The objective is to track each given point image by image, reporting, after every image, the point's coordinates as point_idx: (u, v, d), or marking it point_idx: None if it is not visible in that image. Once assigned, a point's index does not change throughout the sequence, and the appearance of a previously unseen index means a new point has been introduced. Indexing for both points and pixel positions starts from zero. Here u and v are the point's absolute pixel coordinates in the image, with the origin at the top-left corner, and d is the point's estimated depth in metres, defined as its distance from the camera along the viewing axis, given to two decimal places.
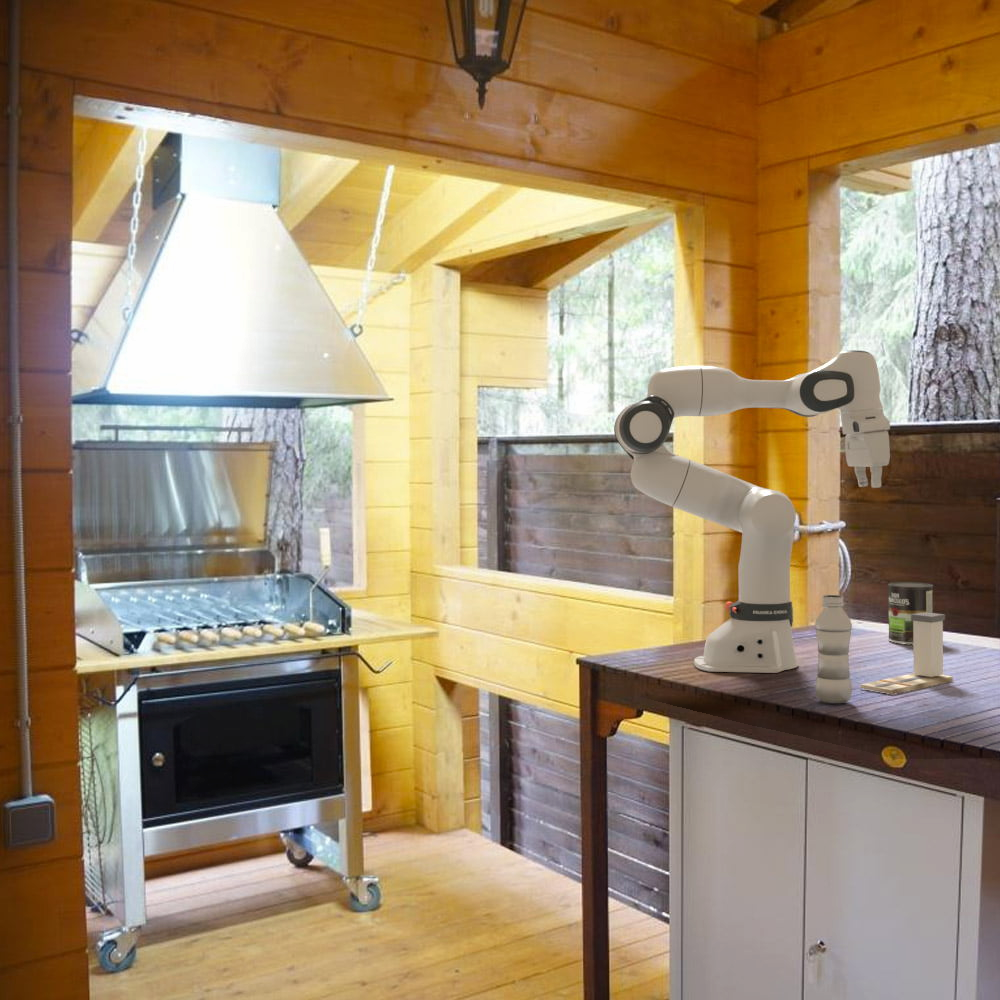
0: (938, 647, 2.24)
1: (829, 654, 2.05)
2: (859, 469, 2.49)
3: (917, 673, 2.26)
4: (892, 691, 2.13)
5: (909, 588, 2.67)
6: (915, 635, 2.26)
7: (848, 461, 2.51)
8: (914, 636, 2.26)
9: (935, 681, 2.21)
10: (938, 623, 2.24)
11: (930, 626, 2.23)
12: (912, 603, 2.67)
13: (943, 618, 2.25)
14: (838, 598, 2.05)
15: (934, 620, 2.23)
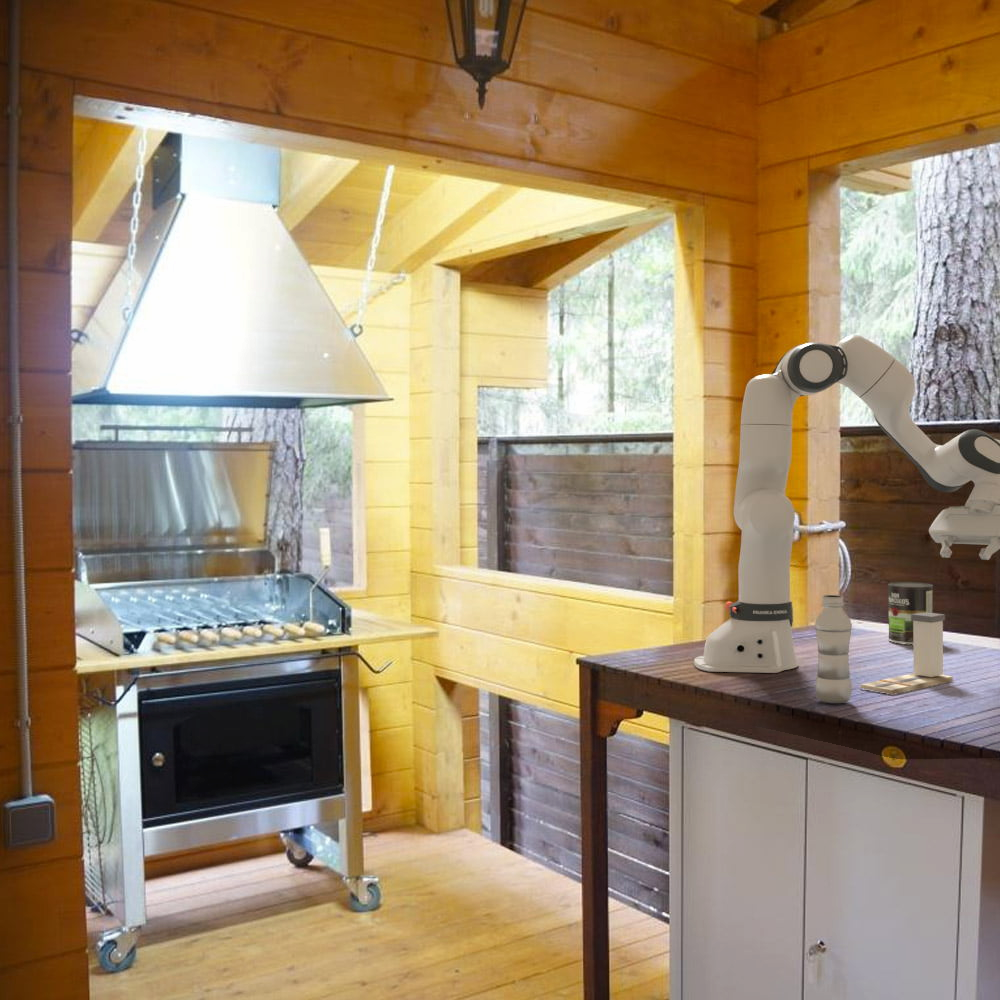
0: (938, 647, 2.24)
1: (829, 654, 2.05)
2: (948, 540, 2.37)
3: (917, 673, 2.26)
4: (892, 691, 2.13)
5: (909, 588, 2.67)
6: (915, 635, 2.26)
7: (937, 528, 2.40)
8: (914, 636, 2.26)
9: (935, 681, 2.21)
10: (938, 623, 2.24)
11: (930, 626, 2.23)
12: (912, 603, 2.67)
13: (943, 618, 2.25)
14: (838, 598, 2.05)
15: (934, 620, 2.23)
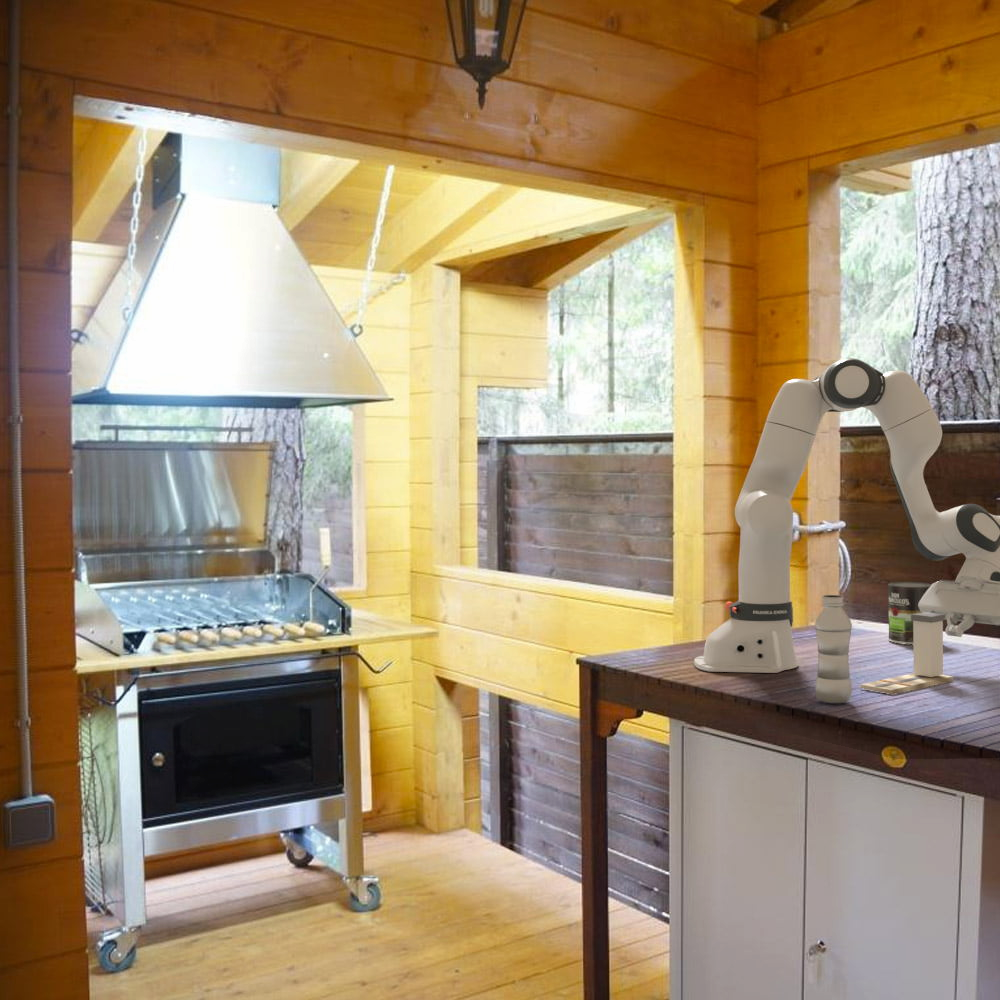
0: (938, 647, 2.24)
1: (829, 654, 2.05)
2: (954, 618, 2.33)
3: (917, 673, 2.26)
4: (892, 691, 2.13)
5: (909, 588, 2.67)
6: (915, 635, 2.26)
7: (926, 603, 2.38)
8: (914, 636, 2.26)
9: (935, 681, 2.21)
10: (938, 623, 2.24)
11: (930, 626, 2.23)
12: (912, 603, 2.67)
13: (943, 618, 2.25)
14: (838, 598, 2.05)
15: (934, 620, 2.23)
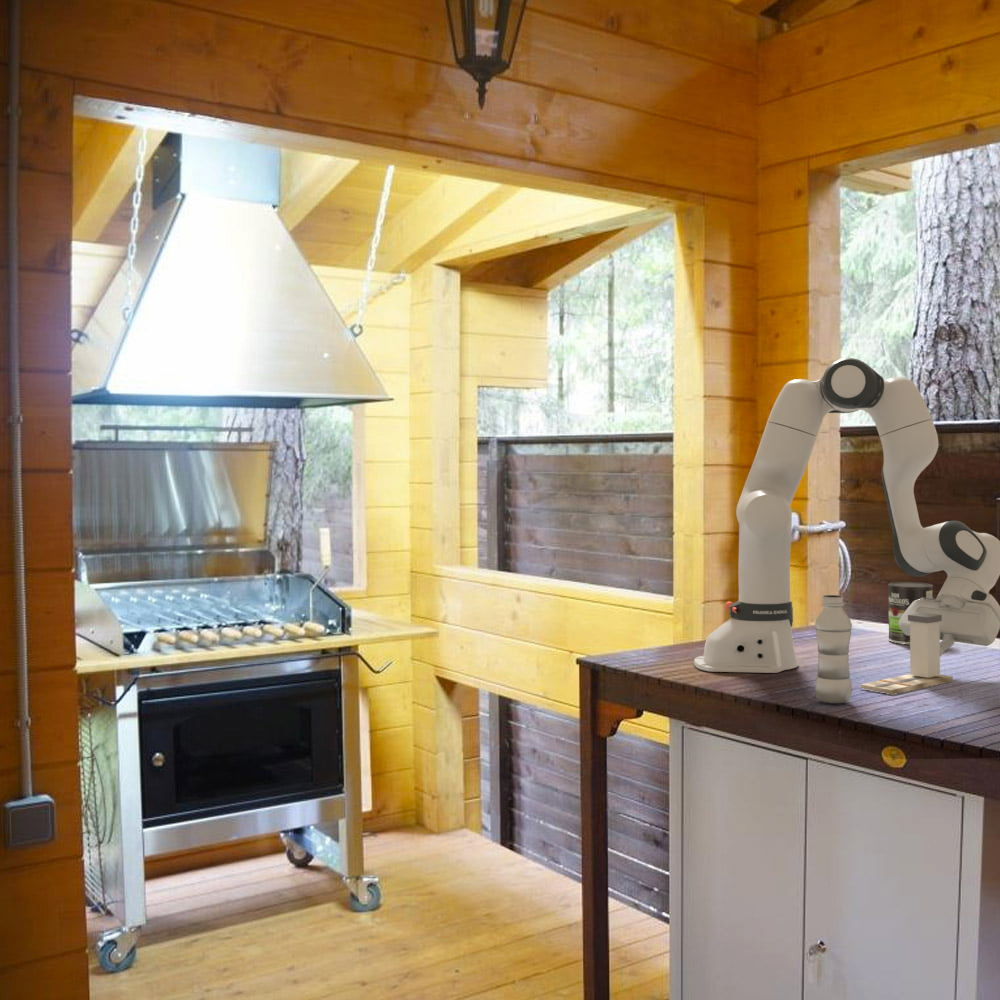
0: (935, 648, 2.24)
1: (829, 654, 2.05)
2: None
3: (914, 674, 2.25)
4: (892, 691, 2.13)
5: (909, 588, 2.67)
6: (912, 636, 2.25)
7: (906, 621, 2.34)
8: (911, 637, 2.25)
9: (935, 681, 2.21)
10: (935, 624, 2.23)
11: (927, 627, 2.22)
12: None
13: (940, 619, 2.24)
14: (838, 598, 2.05)
15: (931, 621, 2.22)
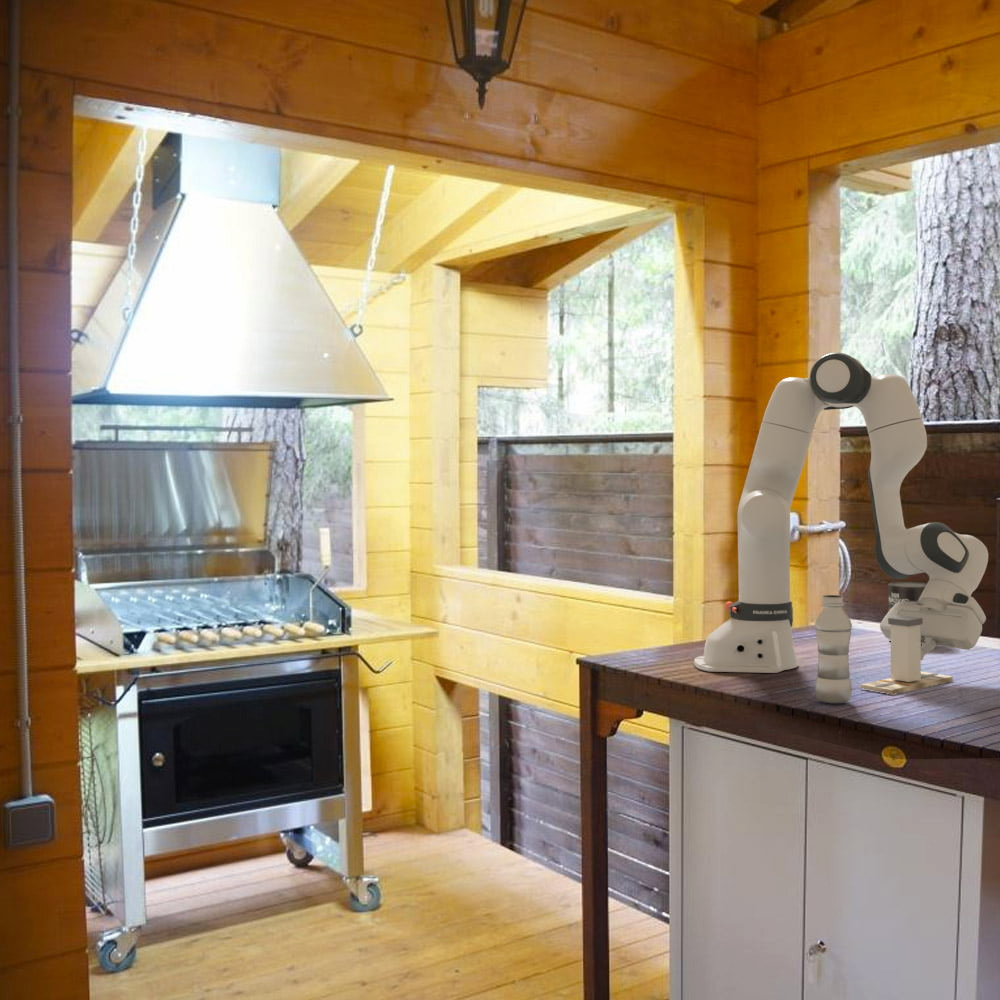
0: (916, 651, 2.20)
1: (829, 654, 2.05)
2: None
3: (894, 678, 2.21)
4: (892, 691, 2.13)
5: (909, 588, 2.67)
6: (892, 639, 2.21)
7: (888, 624, 2.31)
8: (892, 640, 2.21)
9: (935, 681, 2.21)
10: (916, 627, 2.20)
11: (907, 630, 2.18)
12: None
13: (921, 622, 2.20)
14: (838, 598, 2.05)
15: (911, 624, 2.19)
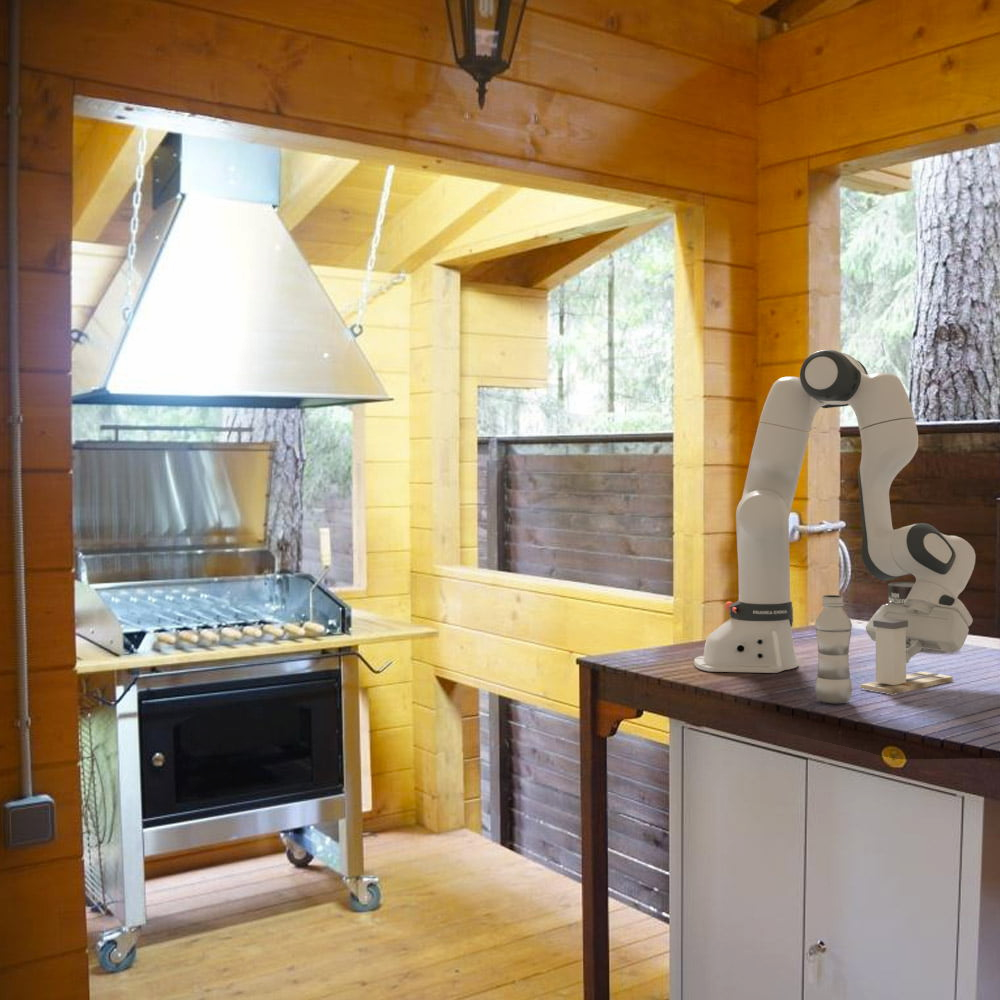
0: (901, 654, 2.17)
1: (829, 654, 2.05)
2: None
3: (879, 681, 2.19)
4: (892, 691, 2.13)
5: (909, 588, 2.67)
6: (878, 642, 2.19)
7: None
8: (877, 643, 2.19)
9: (935, 681, 2.21)
10: (901, 629, 2.17)
11: (892, 633, 2.16)
12: None
13: (906, 624, 2.17)
14: (838, 598, 2.05)
15: (896, 626, 2.16)
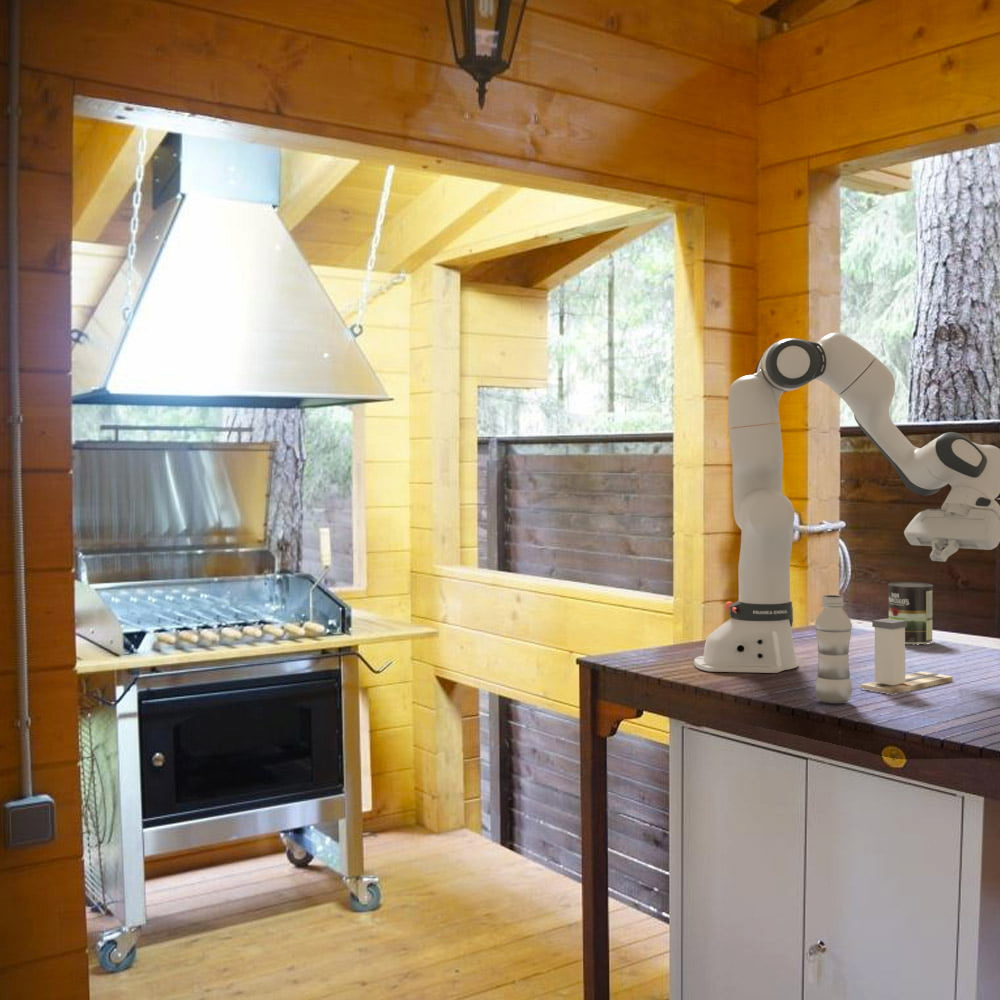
0: (900, 654, 2.17)
1: (829, 654, 2.05)
2: (939, 544, 2.33)
3: (878, 681, 2.18)
4: (892, 691, 2.13)
5: (909, 588, 2.67)
6: (877, 642, 2.18)
7: (912, 530, 2.39)
8: (876, 643, 2.19)
9: (935, 681, 2.21)
10: (900, 630, 2.17)
11: (892, 633, 2.15)
12: (912, 603, 2.67)
13: (905, 624, 2.17)
14: (838, 598, 2.05)
15: (896, 627, 2.16)
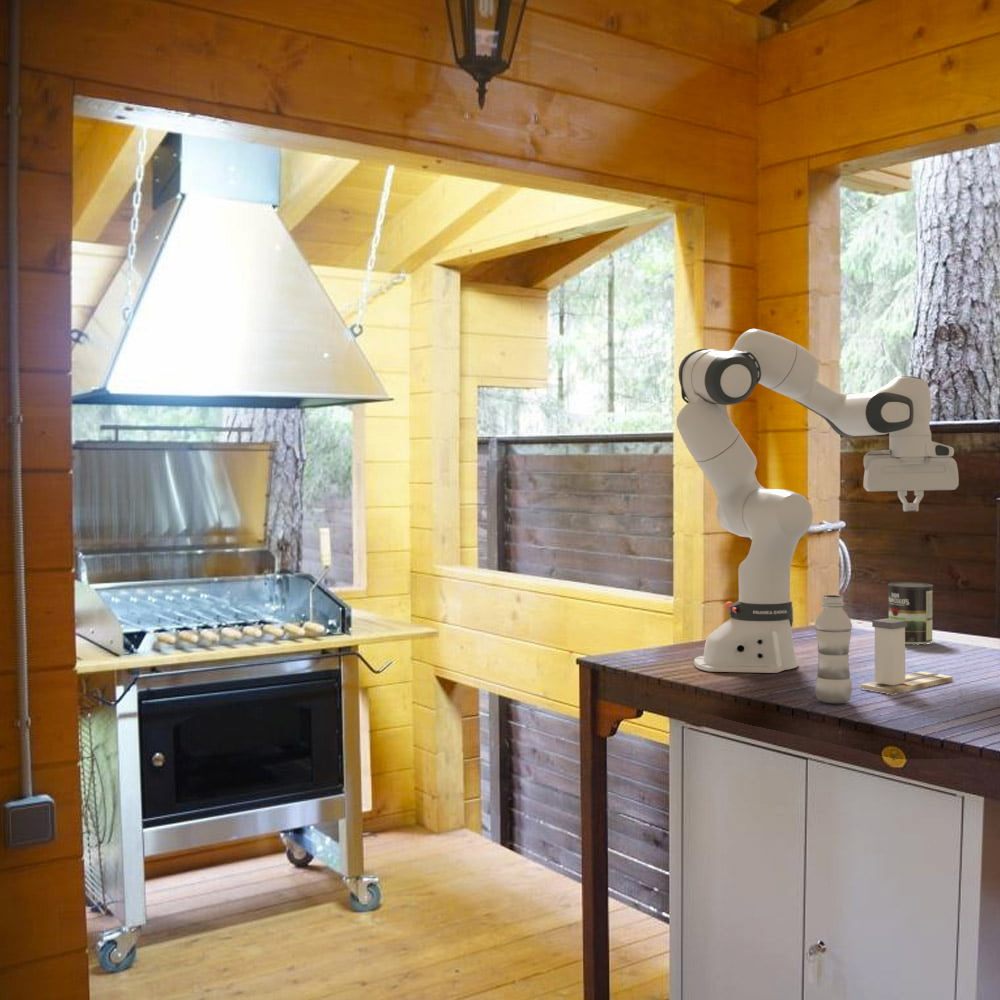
0: (900, 654, 2.17)
1: (829, 654, 2.05)
2: None
3: (878, 681, 2.18)
4: (892, 691, 2.13)
5: (909, 588, 2.67)
6: (877, 642, 2.18)
7: (877, 486, 2.48)
8: (876, 643, 2.19)
9: (935, 681, 2.21)
10: (900, 630, 2.17)
11: (892, 633, 2.15)
12: (912, 603, 2.67)
13: (905, 624, 2.17)
14: (838, 598, 2.05)
15: (896, 627, 2.16)
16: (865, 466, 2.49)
